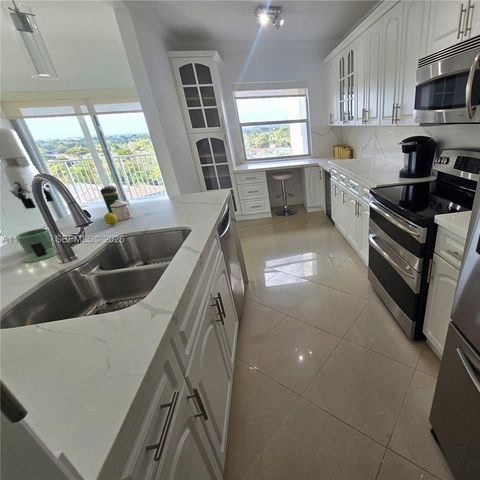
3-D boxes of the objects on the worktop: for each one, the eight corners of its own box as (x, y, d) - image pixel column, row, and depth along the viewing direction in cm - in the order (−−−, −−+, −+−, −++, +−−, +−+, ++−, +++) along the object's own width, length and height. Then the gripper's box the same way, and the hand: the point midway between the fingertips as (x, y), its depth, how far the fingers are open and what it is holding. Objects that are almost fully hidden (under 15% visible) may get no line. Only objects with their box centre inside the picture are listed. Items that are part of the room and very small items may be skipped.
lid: (20, 266, 109) (10, 251, 106) (31, 255, 118) (22, 241, 115) (56, 258, 114) (48, 244, 111) (63, 248, 123) (56, 235, 120)
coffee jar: (124, 215, 166) (113, 187, 158) (109, 218, 163) (97, 189, 155) (126, 211, 174) (116, 184, 166) (112, 213, 171) (101, 186, 163)
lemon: (110, 224, 151) (104, 212, 147) (120, 223, 152) (115, 210, 149) (106, 228, 146) (100, 215, 143) (117, 226, 147) (111, 213, 144)
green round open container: (21, 256, 118) (11, 239, 114) (31, 247, 127) (21, 231, 123) (53, 249, 123) (44, 233, 119) (60, 241, 132) (51, 226, 128)
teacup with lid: (133, 218, 160) (126, 200, 155) (115, 221, 155) (107, 203, 150) (132, 213, 169) (125, 196, 164) (115, 216, 164) (108, 199, 159)
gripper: (25, 160, 107) (46, 199, 115) (-16, 167, 92) (12, 212, 99) (45, 158, 108) (65, 198, 116) (9, 165, 93) (34, 210, 100)
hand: (40, 204), depth 108 cm, fingers open, 9 cm apart
